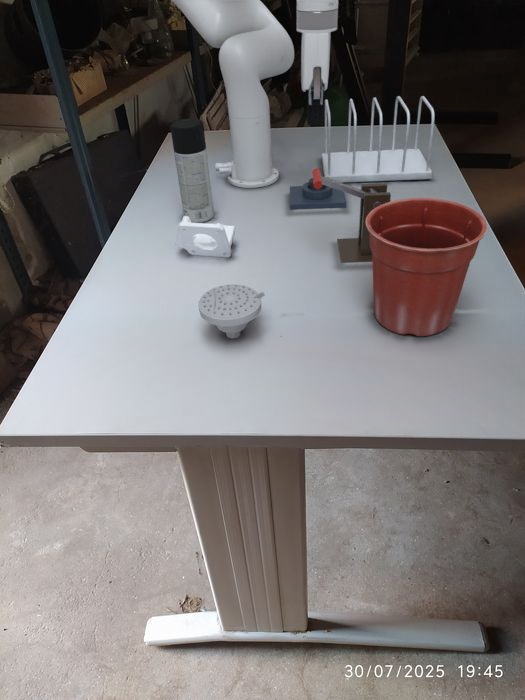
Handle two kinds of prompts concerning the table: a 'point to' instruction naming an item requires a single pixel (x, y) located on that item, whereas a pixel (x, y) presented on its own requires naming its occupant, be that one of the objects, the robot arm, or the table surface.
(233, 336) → the showerhead
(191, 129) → the spray can
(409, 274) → the flower pot
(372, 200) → the brown lever stand
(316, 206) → the button box
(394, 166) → the file sorter
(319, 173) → the tap lever
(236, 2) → the robot arm
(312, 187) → the button
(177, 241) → the mounting bracket
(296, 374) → the table surface
